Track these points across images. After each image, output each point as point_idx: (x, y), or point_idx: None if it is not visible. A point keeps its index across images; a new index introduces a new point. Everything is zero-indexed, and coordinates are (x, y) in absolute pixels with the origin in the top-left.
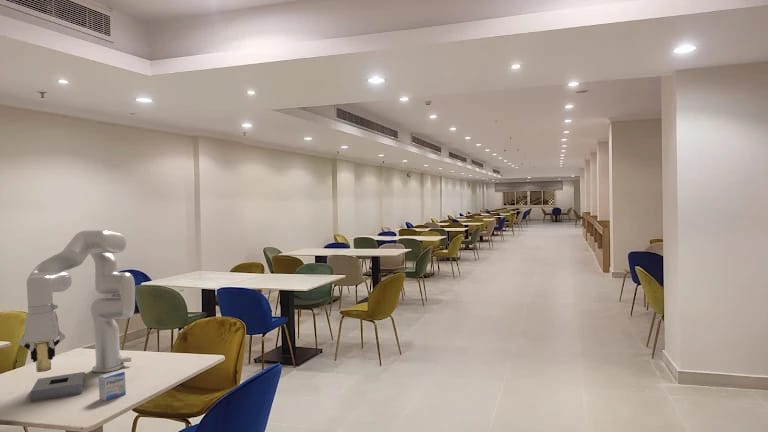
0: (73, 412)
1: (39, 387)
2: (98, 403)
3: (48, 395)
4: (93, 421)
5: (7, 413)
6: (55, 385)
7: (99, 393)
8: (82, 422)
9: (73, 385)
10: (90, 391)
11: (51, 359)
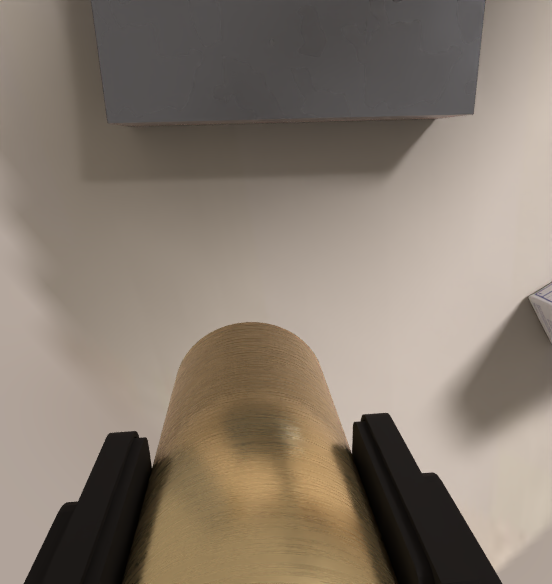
0: None
1: (153, 38)
2: (514, 366)
3: (236, 122)
4: None
5: (46, 295)
6: (281, 54)
7: (550, 310)
8: None
9: (416, 114)
10: (492, 96)
11: None
